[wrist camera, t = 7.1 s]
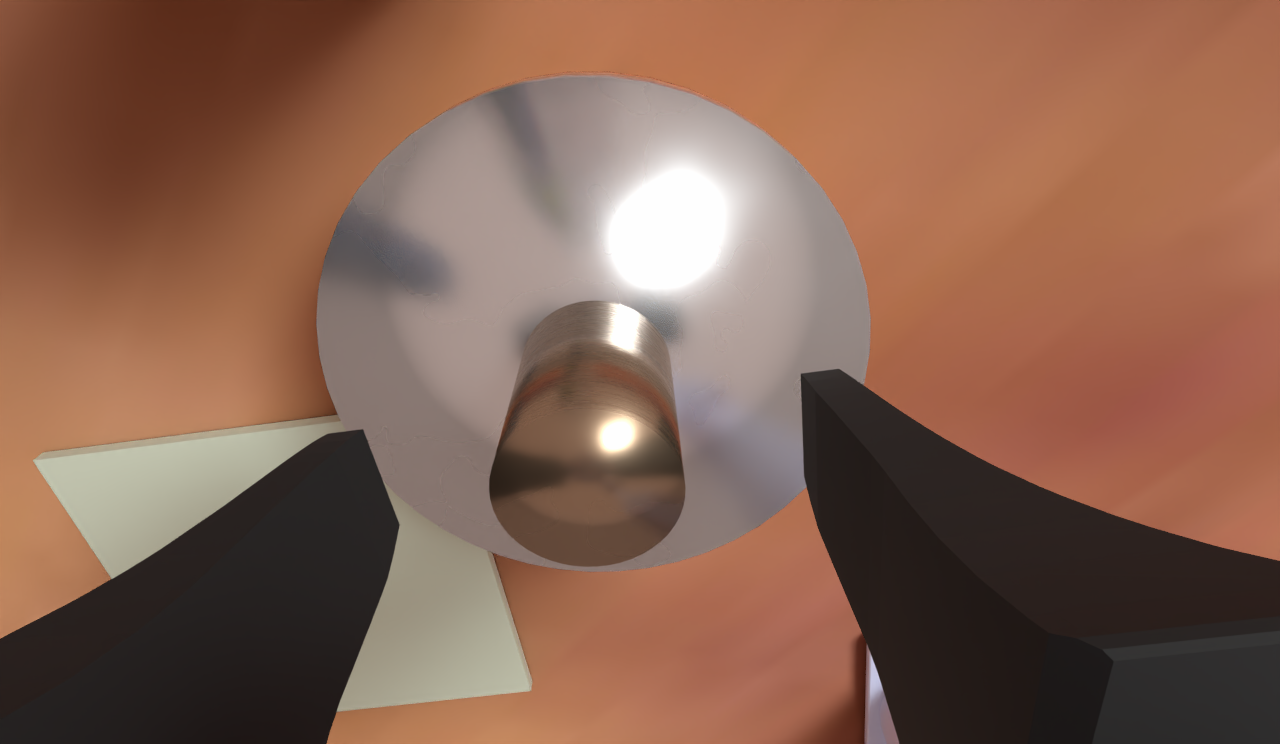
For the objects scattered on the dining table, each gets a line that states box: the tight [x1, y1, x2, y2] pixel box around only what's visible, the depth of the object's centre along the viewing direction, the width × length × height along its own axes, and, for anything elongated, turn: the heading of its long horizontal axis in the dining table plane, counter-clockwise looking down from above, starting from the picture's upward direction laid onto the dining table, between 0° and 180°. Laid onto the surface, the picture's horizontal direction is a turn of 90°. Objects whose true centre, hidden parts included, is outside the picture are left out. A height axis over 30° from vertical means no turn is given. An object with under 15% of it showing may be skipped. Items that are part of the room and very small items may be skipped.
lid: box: [316, 72, 871, 572], centre depth 13 cm, size 11×11×5 cm
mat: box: [33, 415, 532, 712], centre depth 23 cm, size 12×12×1 cm
